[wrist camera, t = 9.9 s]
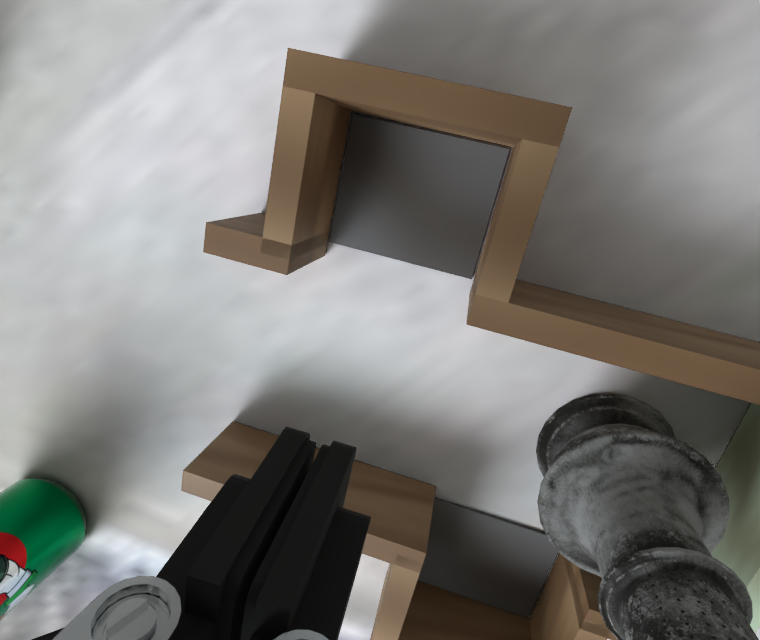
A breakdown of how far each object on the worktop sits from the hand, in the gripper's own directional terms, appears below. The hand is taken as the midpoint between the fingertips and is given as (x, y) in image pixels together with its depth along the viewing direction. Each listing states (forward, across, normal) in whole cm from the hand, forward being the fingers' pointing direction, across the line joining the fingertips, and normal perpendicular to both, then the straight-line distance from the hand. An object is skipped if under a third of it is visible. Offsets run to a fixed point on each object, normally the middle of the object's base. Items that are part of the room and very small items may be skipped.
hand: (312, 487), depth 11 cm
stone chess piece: (+9, -10, +2) cm, 14 cm away
